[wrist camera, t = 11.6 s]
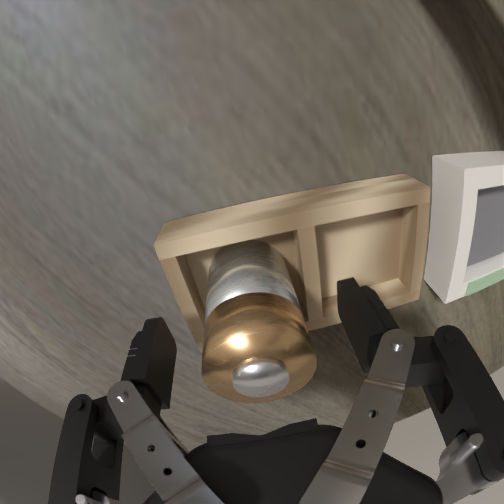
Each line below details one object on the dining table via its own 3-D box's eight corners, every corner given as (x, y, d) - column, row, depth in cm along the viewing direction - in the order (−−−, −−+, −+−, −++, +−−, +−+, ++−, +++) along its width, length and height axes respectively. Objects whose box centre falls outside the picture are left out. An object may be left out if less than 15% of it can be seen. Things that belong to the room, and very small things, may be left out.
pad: (508, 175, 14) (517, 179, 13) (497, 245, 17) (505, 251, 16) (459, 182, 14) (469, 188, 13) (449, 262, 17) (457, 270, 16)
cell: (281, 232, 15) (318, 330, 8) (290, 297, 17) (320, 399, 10) (199, 248, 15) (184, 354, 9) (219, 311, 17) (219, 416, 11)
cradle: (511, 150, 14) (540, 162, 11) (497, 252, 18) (520, 271, 15) (432, 155, 14) (466, 170, 11) (423, 279, 18) (446, 305, 16)
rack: (404, 173, 14) (430, 187, 12) (400, 276, 18) (418, 299, 16) (164, 222, 15) (153, 245, 13) (202, 322, 18) (200, 352, 16)
